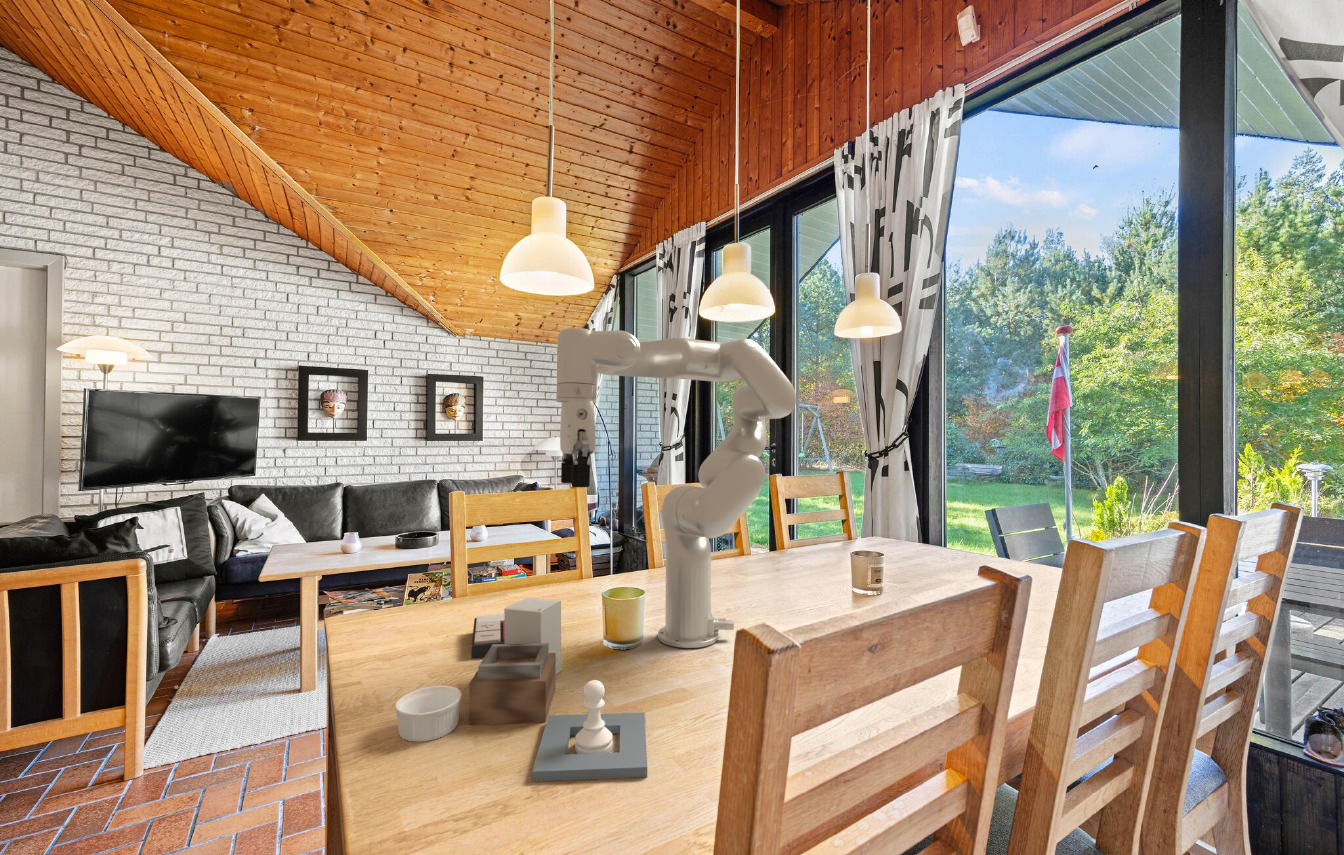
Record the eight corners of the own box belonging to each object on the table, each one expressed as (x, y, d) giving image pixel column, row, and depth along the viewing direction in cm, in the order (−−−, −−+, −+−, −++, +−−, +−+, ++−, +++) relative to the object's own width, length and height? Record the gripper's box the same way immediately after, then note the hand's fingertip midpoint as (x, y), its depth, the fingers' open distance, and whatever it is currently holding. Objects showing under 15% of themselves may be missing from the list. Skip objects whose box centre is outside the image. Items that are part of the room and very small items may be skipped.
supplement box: (562, 670, 102) (563, 600, 103) (540, 688, 95) (540, 612, 96) (527, 665, 105) (527, 596, 105) (502, 681, 98) (503, 607, 98)
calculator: (471, 641, 108) (474, 613, 122) (471, 664, 108) (474, 633, 122) (531, 636, 111) (527, 609, 125) (531, 657, 111) (527, 628, 125)
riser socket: (555, 689, 95) (555, 640, 95) (545, 722, 84) (545, 667, 84) (487, 691, 94) (488, 642, 94) (469, 724, 83) (469, 669, 83)
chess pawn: (618, 751, 76) (619, 683, 76) (584, 762, 74) (584, 692, 74) (602, 734, 80) (602, 670, 81) (569, 745, 78) (569, 678, 78)
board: (644, 720, 85) (644, 712, 85) (647, 776, 71) (647, 766, 71) (548, 723, 83) (548, 715, 84) (532, 781, 70) (532, 771, 70)
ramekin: (420, 752, 76) (420, 719, 76) (381, 733, 81) (381, 702, 81) (474, 723, 84) (474, 694, 84) (436, 708, 88) (436, 680, 88)
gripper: (608, 392, 102) (606, 488, 101) (585, 398, 118) (583, 481, 117) (565, 390, 99) (563, 489, 99) (548, 396, 115) (546, 481, 115)
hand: (574, 484), depth 108 cm, fingers open, 9 cm apart
